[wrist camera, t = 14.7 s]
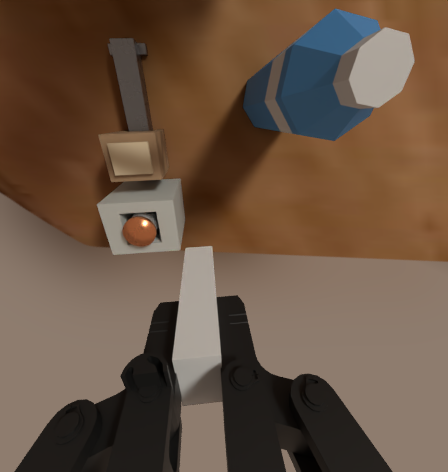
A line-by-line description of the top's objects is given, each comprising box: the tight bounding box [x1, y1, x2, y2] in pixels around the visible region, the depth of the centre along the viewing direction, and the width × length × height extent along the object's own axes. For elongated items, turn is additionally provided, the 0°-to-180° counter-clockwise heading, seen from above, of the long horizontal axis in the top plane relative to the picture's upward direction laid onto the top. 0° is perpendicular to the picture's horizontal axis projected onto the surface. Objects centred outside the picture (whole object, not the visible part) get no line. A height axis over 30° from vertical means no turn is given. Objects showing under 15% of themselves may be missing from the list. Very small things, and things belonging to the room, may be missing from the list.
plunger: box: [122, 212, 159, 247], centre depth 33 cm, size 4×4×6 cm
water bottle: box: [243, 9, 415, 141], centre depth 25 cm, size 9×9×25 cm
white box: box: [97, 179, 185, 255], centre depth 37 cm, size 8×10×12 cm
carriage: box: [98, 129, 169, 182], centre depth 33 cm, size 6×7×10 cm
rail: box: [108, 38, 153, 131], centre depth 34 cm, size 18×5×3 cm, turn 2°
